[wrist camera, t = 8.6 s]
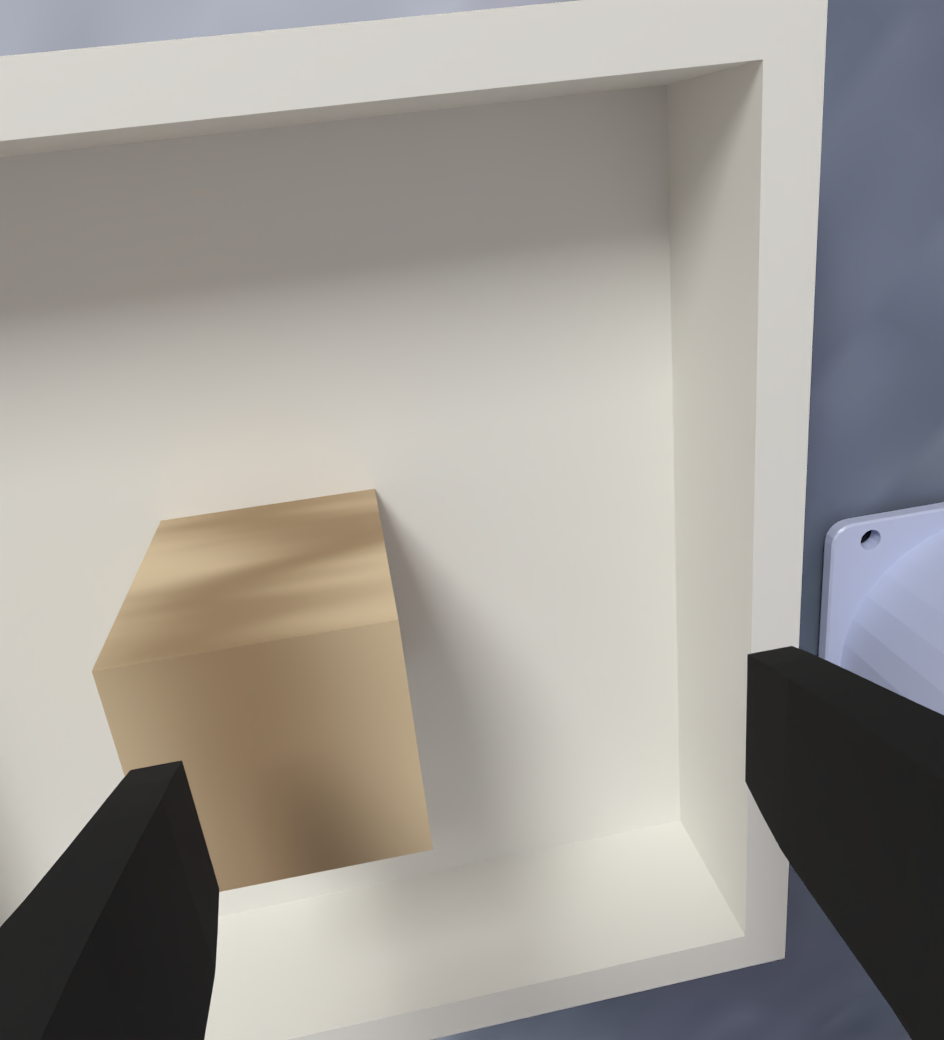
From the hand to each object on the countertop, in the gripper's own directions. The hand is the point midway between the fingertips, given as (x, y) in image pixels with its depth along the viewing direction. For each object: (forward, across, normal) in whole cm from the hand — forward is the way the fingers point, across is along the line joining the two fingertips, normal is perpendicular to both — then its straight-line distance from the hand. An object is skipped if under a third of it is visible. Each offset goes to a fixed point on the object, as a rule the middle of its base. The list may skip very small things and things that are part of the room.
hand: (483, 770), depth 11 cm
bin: (+9, +3, +1) cm, 10 cm away
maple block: (+9, +3, +1) cm, 9 cm away
